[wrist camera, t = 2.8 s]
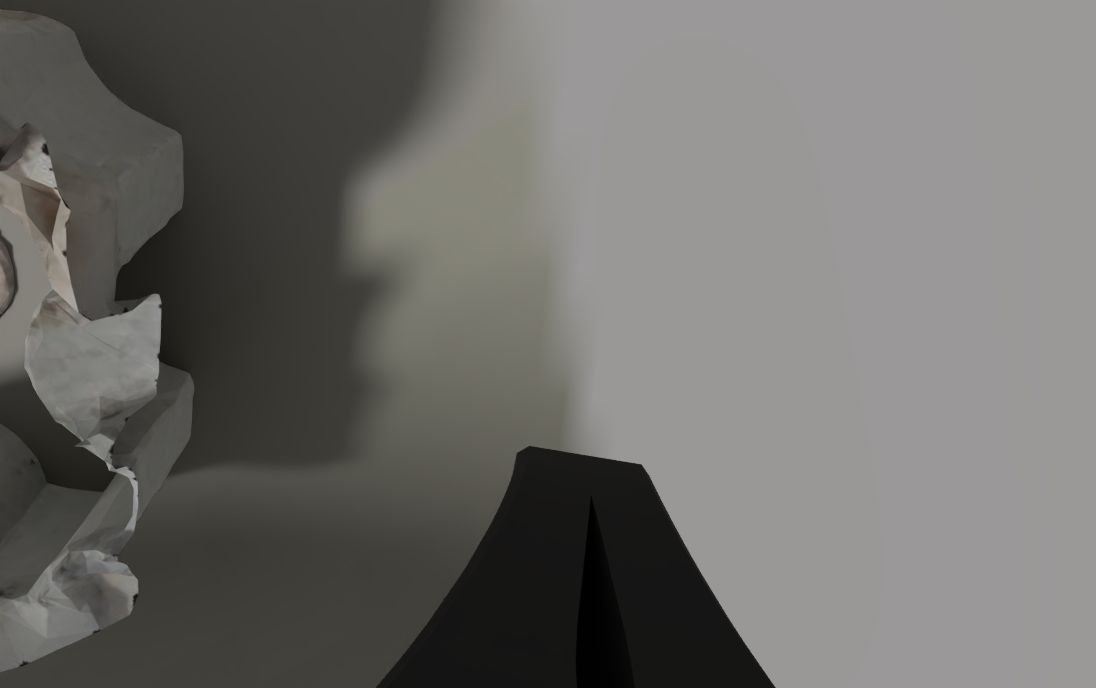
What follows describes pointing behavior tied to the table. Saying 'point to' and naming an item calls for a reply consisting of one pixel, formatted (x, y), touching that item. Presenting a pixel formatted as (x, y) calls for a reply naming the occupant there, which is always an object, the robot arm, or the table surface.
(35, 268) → the table surface
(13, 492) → the egg carton
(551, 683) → the robot arm
